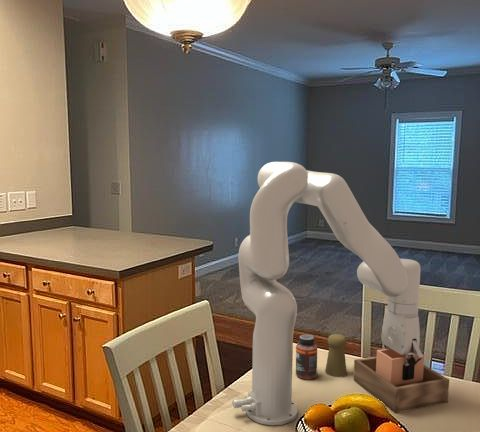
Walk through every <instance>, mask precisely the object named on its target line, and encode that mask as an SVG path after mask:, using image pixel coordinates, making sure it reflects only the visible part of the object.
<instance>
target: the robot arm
mask: <svg viewBox="0 0 480 432" xmlns="http://www.w3.org/2000/svg"><path fill="white" fill-rule="evenodd" d="M257 185H258V187H259V189H258V191H257V192H256V194H255V196H254V197H253V199H252V202H251V206H250V211H249V235H247V236H246V237H245V238H244V239H243V240H242V242H241V243H240V245H239V249H238V250H239V251H238V254H237V255H238V256H237V257H238V270H239V271H238V272H239V284H240V285H239V286H240V293H241V297H242V301H243V303H244V305H245V306H246V308H248V310H250V312H252V314H254V316H255V324H254V329H253V333H252V334H253V335H252V372H251V375H252V376H251V377H252V378H251V379H252V381H251V383H252V384H251V387H252V388H251V390H249V391H248V393H247V394H248V396H245V397H244V398H237V399H236V398H235V399H232V401H231V402H232V407H233V409H238V408H240V411H241V412H242V413H243V412H245V414H246V416H247V417H248V418H250V420H252V421H253V422H255V423H259V424H261V425H265V426H266V425H268V426H279V425H280V426H281V425H286V424H289V423H290V422H293V421H294V420H295V419H296V418H297V417H298V414H299V412H298V411H299V408H298V405H297V403H296V402H294V400H292V398H293V397H292V394H293V392H292V391H293V360H294V359H293V354H294V353H293V352H294V351H293V349H294V344H293V343H294V330H295V324H296V319H297V314H298V305H297V301H296V297H295V296H294V294H293V292H291V291H290V289H288V288H287V287H286V286H285V285H283V284H282V283H280V282H278V281H277V280H278V279H280V278H282V277H284V275H286V274H287V271H288V269H289V266H290V254H289V253H290V252H289V251H290V250H289V240H288V214H289V211H290V209H291V208H292V206H293V204H294V203H299V204H304V205H311V206H314V207H317V208H318V209H319V210H320V212H321V214H322V215H323V217H324V219H325V221H326V222H327V224H328V225H329V227H330V229H331V231H332V232H333V234H334V236H335V237H336V239H337V240H338V242H340V243H341V244H342V245H343V246H344V247H345V248H346V249H348V250H349V251H351V252H352V253H353V254H355V255H356V256H358V258H360V260H362V262H361V263H360V264H359V265H358V267H357V270H356V276H357V279H358V281H359V282H360V283H361V284H362V285H363V286H365V287H367V288H368V289H371V290H373V291H376V292H378V293H380V294H381V295H382V294H383V295H384V296H386V297H387V308H386V309H385V312H384V316H383V320H382V321H383V322H382V327H381V329H382V330H381V334H380V337H381V342H382V344H383V346H384V347H383V348H384V349H392V350H394V351H395V352H397V353H399V354H401V355H403V357H404V362H405V365H403V374H402V379H403V380H410V379H413V378H414V367H415V365H416V364H417V363H418V362H419V361H420V360H421V359H422V358H423V355H422V354H423V353H422V351H421V349H420V343H421V341H420V340H421V333H420V332H421V330H420V319H419V317H420V316H419V300H420V286H421V283H420V282H421V264H420V263H419V262H418V261H417V260H414V259H410V258H409V259H408V258H400V257H399V255H398V253H397V252H396V251H395V249H394V248H393V246H392V245H390V243H389V242H388V241H387V240H386V239H385V237H383V236H382V235H381V234H380V233H379V231H378V230H377V229H376V228H375V227H374V225H372V224H371V223H370V222H369V220H368V219H367V217H366V215H365V214H364V212H363V210H362V209H361V206H360V205H359V203H358V201H357V199H356V198H355V196H354V194H353V192H352V191H351V188H350V187H349V185H348V183H347V181H345V179H344V178H343V177H342V176H340V175H338V174H336V173H331V172H319V171H312V170H307V169H306V168H305V167H304V166H303V165H301V164H299V163H297V162H294V161H293V162H292V161H271V162H267V163H266V164H264V165H263V166H262V167H261V168H260V169H259V171H258V173H257ZM408 355H410V356H411V359H408Z"/></svg>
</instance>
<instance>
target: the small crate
mask: <svg viewBox="0 0 480 432" xmlns="http://www.w3.org/2000/svg"><path fill="white" fill-rule="evenodd" d="M422 355H423V358H422V359H421V360H420V361H419V362H418V363H417V364H416V365H415V367H414V378H413V379H410V380H403V379H402V374H403V365H405V362H404V357H403V355H401V354H399V353H397V352H395V351H394V350H392V349H385V348H384V349H383V348H382V349H377V350H376V356H377V358H376V373H378V374H379V375H381V376H382V377H383V378H385V379H386V380H388V381H389V382H390V383H392V384H393V385H401V384H406V383H412V382H418V381H423V371H424V365H425V354H423V353H422ZM408 359H411V356H410V355H408Z"/></svg>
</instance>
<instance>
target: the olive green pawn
mask: <svg viewBox="0 0 480 432" xmlns="http://www.w3.org/2000/svg"><path fill="white" fill-rule="evenodd" d="M327 344H328V347H329V348H328V352H327V360H326V364H325V370H324V371H325V374H326V375H328V376H329V377H333V378H343V377H346V376H347V374H348V373H347V363H346V351H345V347H346V346H347V339H346V337H345V336H344V335H342V334H341V333H339V334H338V333H332V334H330V335H329V336H328V338H327Z"/></svg>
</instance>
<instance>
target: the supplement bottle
mask: <svg viewBox="0 0 480 432" xmlns="http://www.w3.org/2000/svg"><path fill="white" fill-rule="evenodd" d="M317 375H318V345H317V344H316V343H315V337H314V336H313V335H311V334H302V335H300V336H299V341H298V342H297V343H296V345H295V376H297V378H299V379H303V380H311V379H314V378H317Z"/></svg>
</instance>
